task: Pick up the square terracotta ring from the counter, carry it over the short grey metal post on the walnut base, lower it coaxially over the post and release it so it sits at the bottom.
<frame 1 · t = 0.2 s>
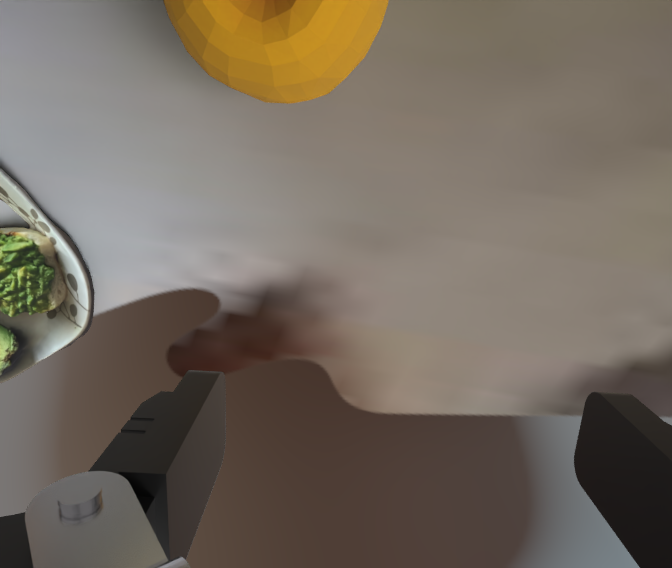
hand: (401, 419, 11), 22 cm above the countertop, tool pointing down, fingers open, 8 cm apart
apple: (293, 5, 27), on the countertop
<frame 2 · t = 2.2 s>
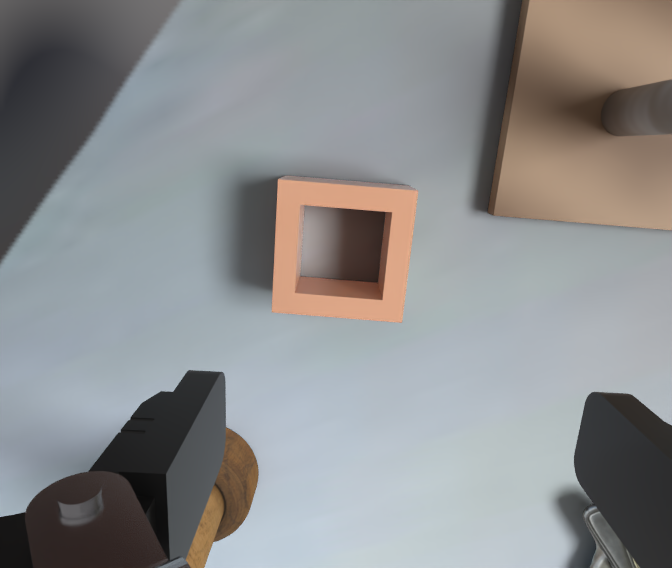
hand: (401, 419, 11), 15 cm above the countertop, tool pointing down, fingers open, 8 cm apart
ring: (342, 241, 25), on the countertop
brown tall piece: (202, 466, 28), on the countertop
post stand: (611, 114, 23), on the countertop
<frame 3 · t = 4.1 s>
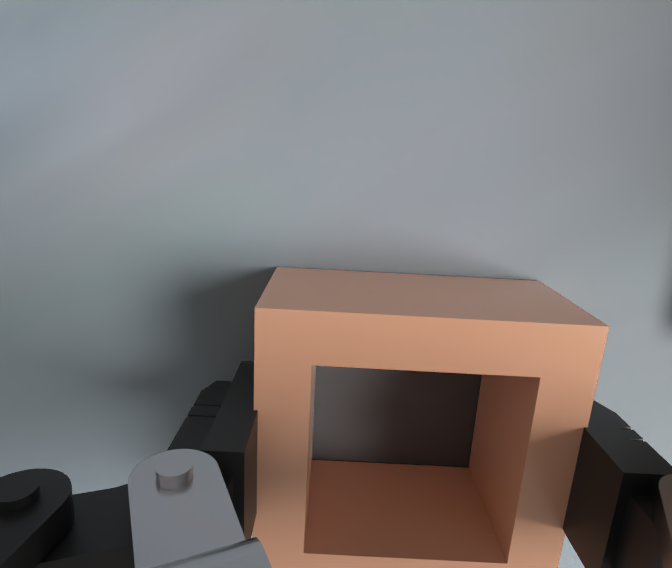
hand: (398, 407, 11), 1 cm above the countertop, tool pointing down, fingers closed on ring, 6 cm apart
ring: (397, 392, 12), on the countertop, touching gripper
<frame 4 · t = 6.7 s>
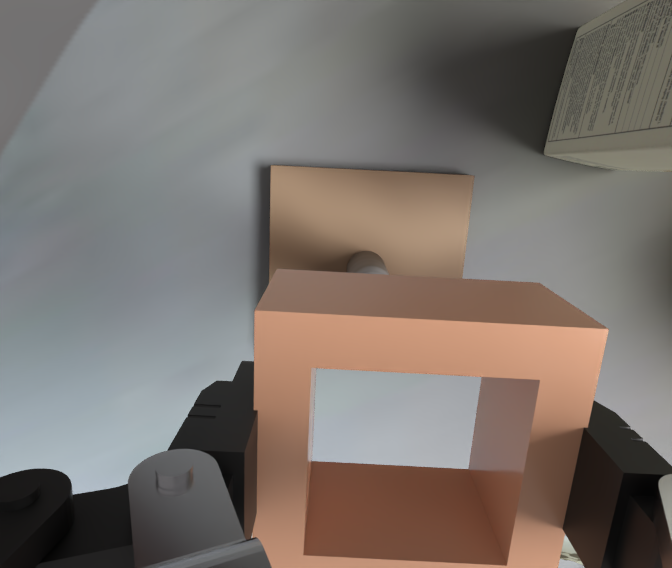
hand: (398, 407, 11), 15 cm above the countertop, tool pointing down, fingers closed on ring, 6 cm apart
ring: (397, 394, 12), point 15 cm above the countertop, touching gripper
skincare box: (598, 98, 24), on the countertop
post stand: (365, 265, 26), on the countertop
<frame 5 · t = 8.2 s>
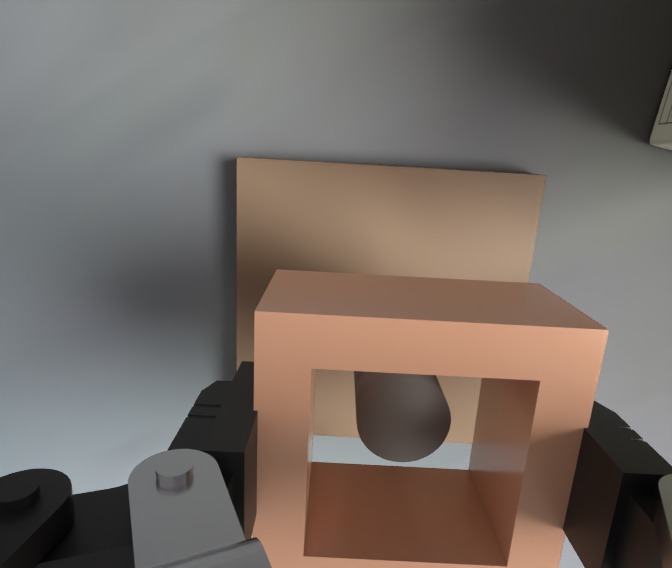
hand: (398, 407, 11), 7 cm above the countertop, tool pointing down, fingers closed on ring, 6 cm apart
ring: (397, 395, 12), point 6 cm above the countertop, touching gripper
post stand: (377, 304, 18), on the countertop
when the fingers open (4 cm above the countertop, at t = 9.4 s): ring drops 2 cm, resting on post stand.
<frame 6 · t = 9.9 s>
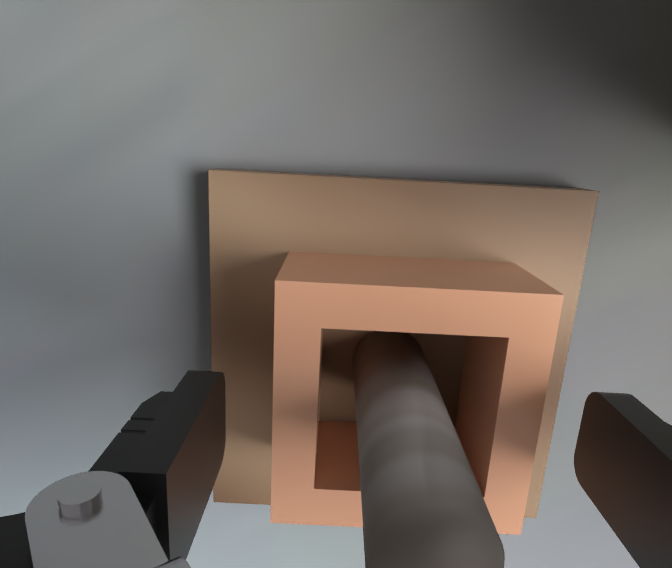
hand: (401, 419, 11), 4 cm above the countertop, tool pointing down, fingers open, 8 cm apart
ring: (392, 361, 14), point 1 cm above the countertop, touching post stand
post stand: (385, 347, 15), on the countertop
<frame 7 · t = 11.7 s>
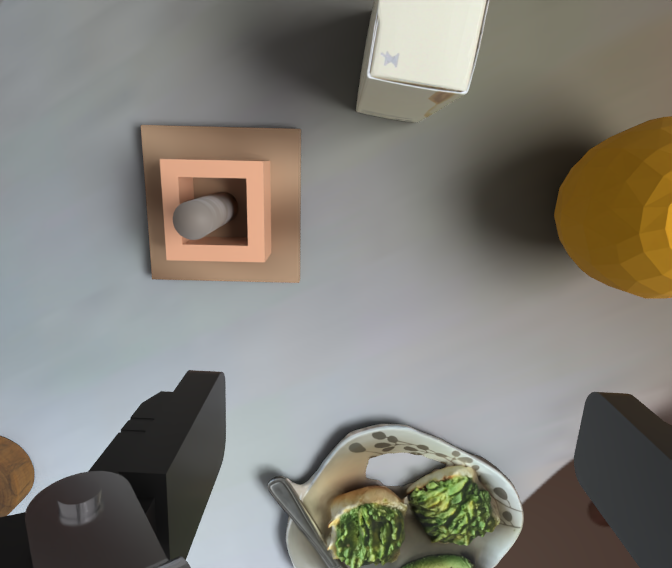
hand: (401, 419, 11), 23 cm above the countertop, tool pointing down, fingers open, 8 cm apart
ring: (224, 206, 32), point 1 cm above the countertop, touching post stand
skincare box: (396, 66, 31), on the countertop
post stand: (226, 205, 33), on the countertop
avocado toast plate: (402, 520, 40), on the countertop
apple: (597, 199, 33), on the countertop
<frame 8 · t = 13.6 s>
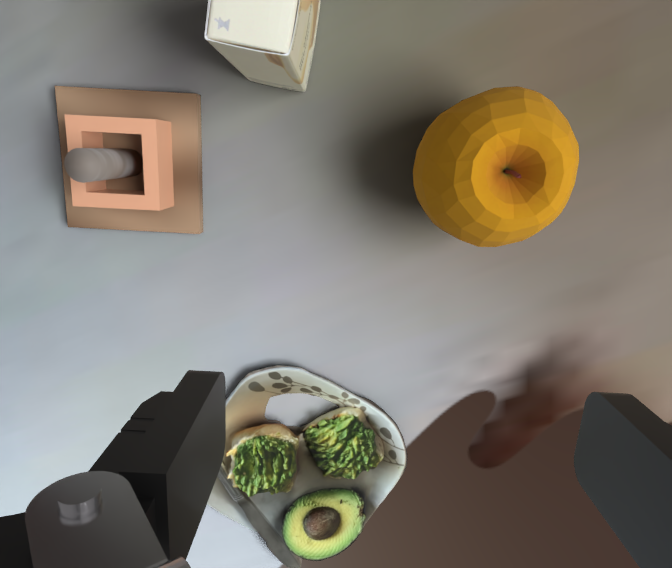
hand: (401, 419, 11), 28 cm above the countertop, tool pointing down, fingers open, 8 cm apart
ring: (131, 162, 36), point 1 cm above the countertop, touching post stand
skincare box: (284, 40, 35), on the countertop
post stand: (135, 162, 37), on the countertop
avocado toast plate: (302, 458, 44), on the countertop
apple: (467, 166, 37), on the countertop
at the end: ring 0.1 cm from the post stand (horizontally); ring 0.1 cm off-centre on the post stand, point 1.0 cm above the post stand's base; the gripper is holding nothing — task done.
